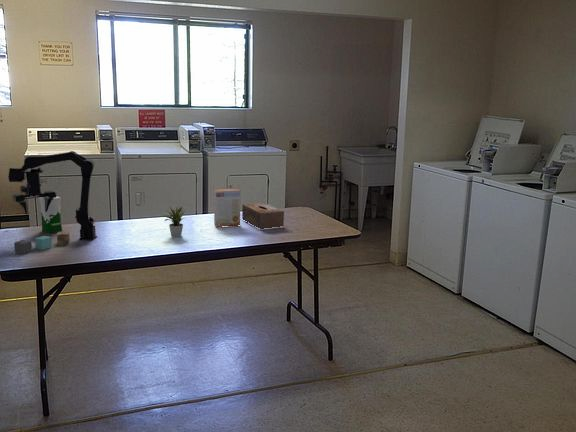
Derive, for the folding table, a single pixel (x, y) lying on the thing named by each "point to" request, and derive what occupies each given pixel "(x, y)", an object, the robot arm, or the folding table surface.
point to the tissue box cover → (262, 215)
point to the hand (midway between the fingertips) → (36, 213)
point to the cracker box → (226, 207)
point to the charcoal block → (23, 247)
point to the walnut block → (63, 238)
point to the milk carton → (51, 215)
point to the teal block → (43, 242)
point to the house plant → (175, 222)
